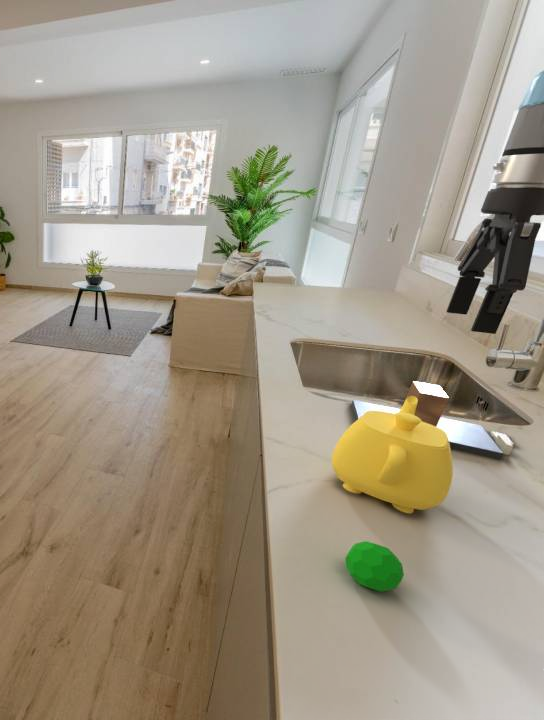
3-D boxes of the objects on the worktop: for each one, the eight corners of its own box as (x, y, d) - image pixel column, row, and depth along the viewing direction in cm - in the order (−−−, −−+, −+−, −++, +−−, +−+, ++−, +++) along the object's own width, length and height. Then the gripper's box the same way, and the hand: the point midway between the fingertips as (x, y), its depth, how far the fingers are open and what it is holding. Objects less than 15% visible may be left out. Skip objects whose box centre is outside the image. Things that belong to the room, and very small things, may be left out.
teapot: (439, 476, 67) (472, 406, 62) (436, 547, 53) (478, 464, 48) (339, 443, 75) (361, 379, 70) (313, 497, 61) (339, 422, 56)
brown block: (425, 418, 81) (440, 385, 78) (433, 432, 76) (449, 397, 74) (399, 413, 83) (412, 380, 80) (406, 426, 78) (420, 392, 75)
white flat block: (491, 430, 79) (489, 434, 79) (499, 440, 76) (497, 444, 76) (505, 433, 78) (503, 437, 78) (514, 444, 75) (512, 447, 75)
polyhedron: (333, 560, 50) (345, 529, 49) (378, 567, 50) (393, 536, 48) (353, 596, 46) (367, 563, 44) (404, 605, 45) (420, 572, 43)
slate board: (477, 432, 80) (480, 425, 79) (500, 461, 71) (504, 453, 70) (350, 405, 89) (352, 399, 88) (356, 428, 80) (359, 421, 79)
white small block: (493, 444, 76) (499, 445, 76) (501, 454, 73) (508, 456, 73) (498, 434, 75) (504, 435, 75) (507, 444, 72) (513, 446, 72)
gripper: (464, 188, 76) (422, 304, 84) (526, 184, 56) (463, 337, 64) (522, 188, 73) (472, 309, 81) (610, 185, 53) (532, 346, 61)
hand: (468, 322), depth 72 cm, fingers open, 13 cm apart
